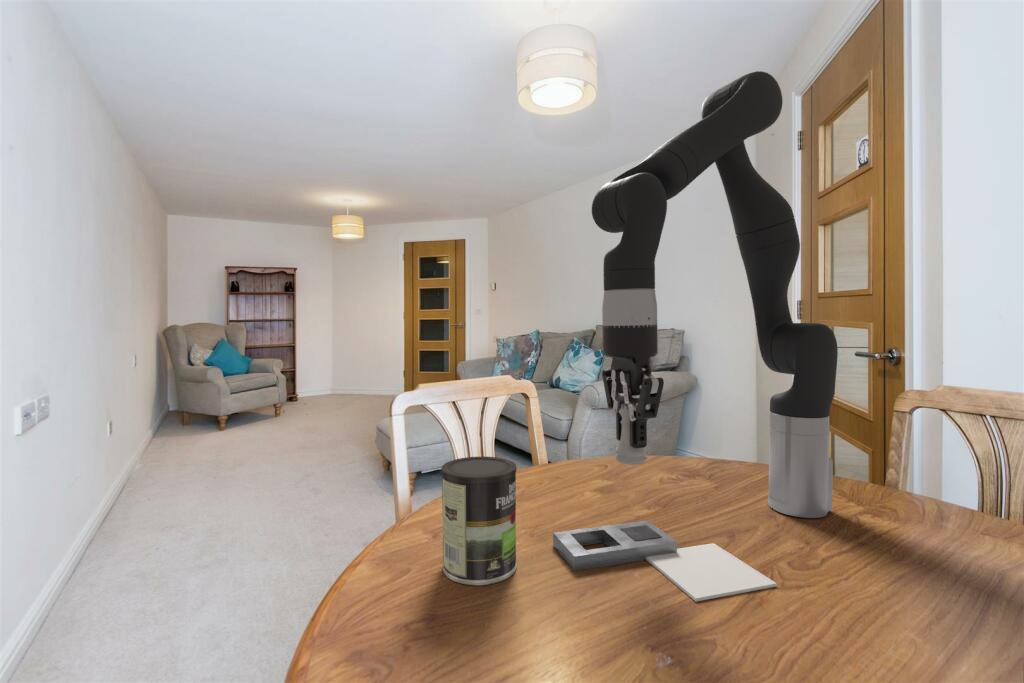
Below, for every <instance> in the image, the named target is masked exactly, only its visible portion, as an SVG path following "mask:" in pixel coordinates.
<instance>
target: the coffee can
mask: <svg viewBox="0 0 1024 683" xmlns="http://www.w3.org/2000/svg"><path fill="white" fill-rule="evenodd" d="M440 473H441V477H442V478H441V481H442V485H441V487H442V489H441V491H442V493H441V496H442V497H441V499H442V560H443V561H442V572H443V574H444V576H446V578H447V579H450V580H451V581H453V582H455V583H458V584H462V585H465V586H467V585H468V586H487V585H493V584H497V583H500V582H503V581H505V580H507V579H509V578H510V577H511V576H513V575H514V574H515V572H516V570H517V533H516V532H517V531H516V530H517V525H516V524H517V521H516V520H517V515H516V513H517V508H516V507H517V494H516V493H517V492H516V491H517V485H516V484H517V482H516V478H517V476H516V475H517V464H516V463H515V462H514V461H512V460H509V459H506V458H502V457H496V456H468V457H460V458H457V459H453V460H450V461H447V462H445V463H443V464H442V465H441V467H440Z"/></svg>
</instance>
